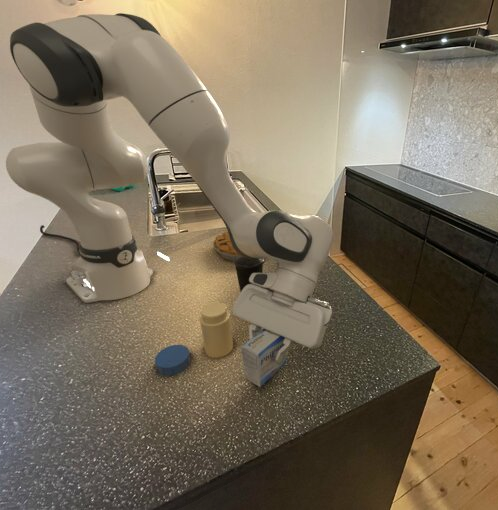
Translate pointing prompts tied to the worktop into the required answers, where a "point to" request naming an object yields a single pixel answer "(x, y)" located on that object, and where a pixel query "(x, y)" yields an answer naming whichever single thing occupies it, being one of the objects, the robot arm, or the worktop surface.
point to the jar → (216, 329)
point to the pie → (225, 246)
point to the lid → (172, 359)
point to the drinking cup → (246, 269)
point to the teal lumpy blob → (122, 188)
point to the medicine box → (262, 356)
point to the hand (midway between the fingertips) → (263, 354)
